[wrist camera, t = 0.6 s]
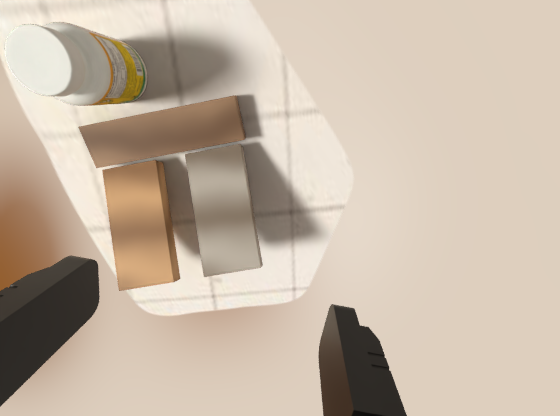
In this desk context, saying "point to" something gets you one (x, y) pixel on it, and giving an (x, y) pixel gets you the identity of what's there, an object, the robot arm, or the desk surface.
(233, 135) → the walnut panel
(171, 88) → the desk surface
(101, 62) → the supplement bottle
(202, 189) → the grey ash plank
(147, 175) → the chestnut plank
